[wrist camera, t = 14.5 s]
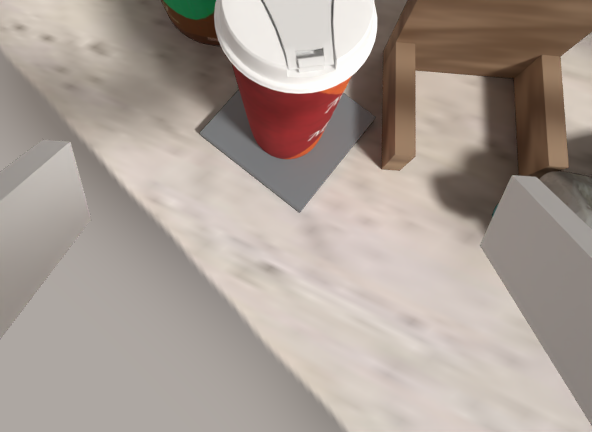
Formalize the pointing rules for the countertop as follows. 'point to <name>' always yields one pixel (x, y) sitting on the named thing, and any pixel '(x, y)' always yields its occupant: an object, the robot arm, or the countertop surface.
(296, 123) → the paper cup
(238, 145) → the charcoal mat
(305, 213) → the countertop surface
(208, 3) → the food container
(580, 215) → the crushed grey plastic bottle
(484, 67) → the walnut rack
